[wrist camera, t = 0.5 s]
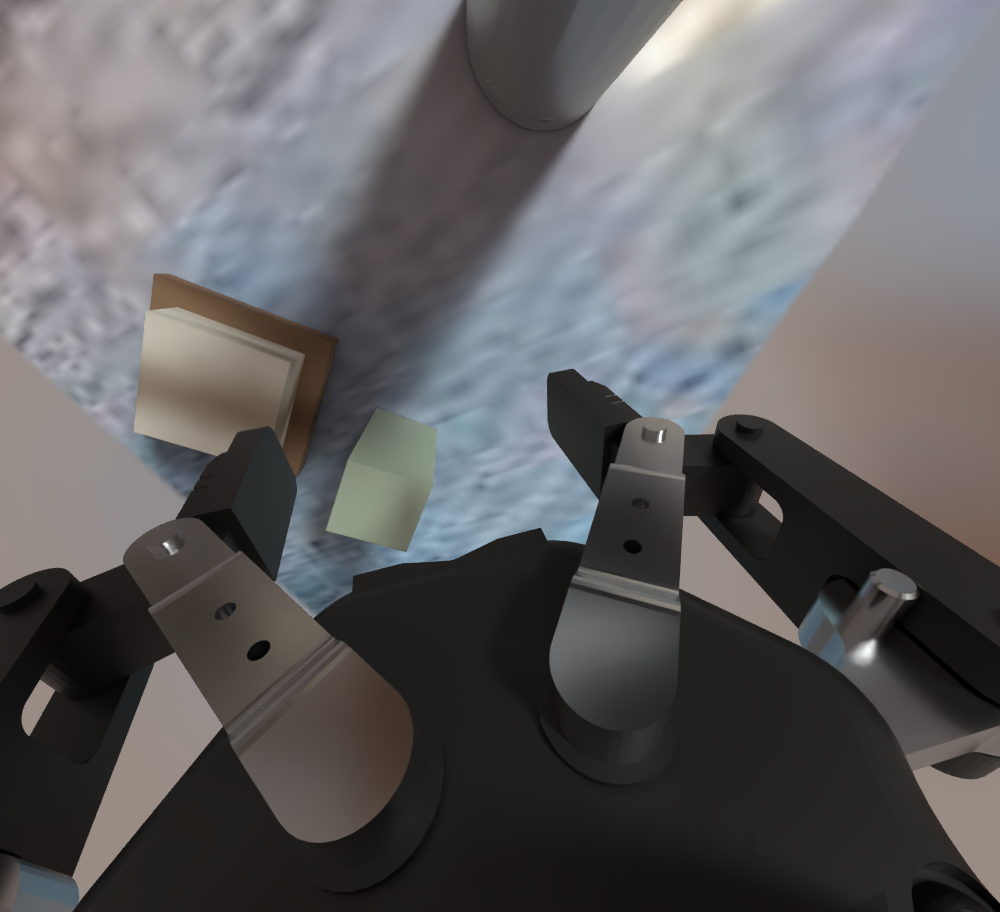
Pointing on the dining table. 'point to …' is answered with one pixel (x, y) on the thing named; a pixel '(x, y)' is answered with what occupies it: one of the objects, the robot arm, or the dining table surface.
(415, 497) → the green post
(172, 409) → the build base
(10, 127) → the dining table surface
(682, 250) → the dining table surface
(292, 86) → the dining table surface
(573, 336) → the dining table surface
